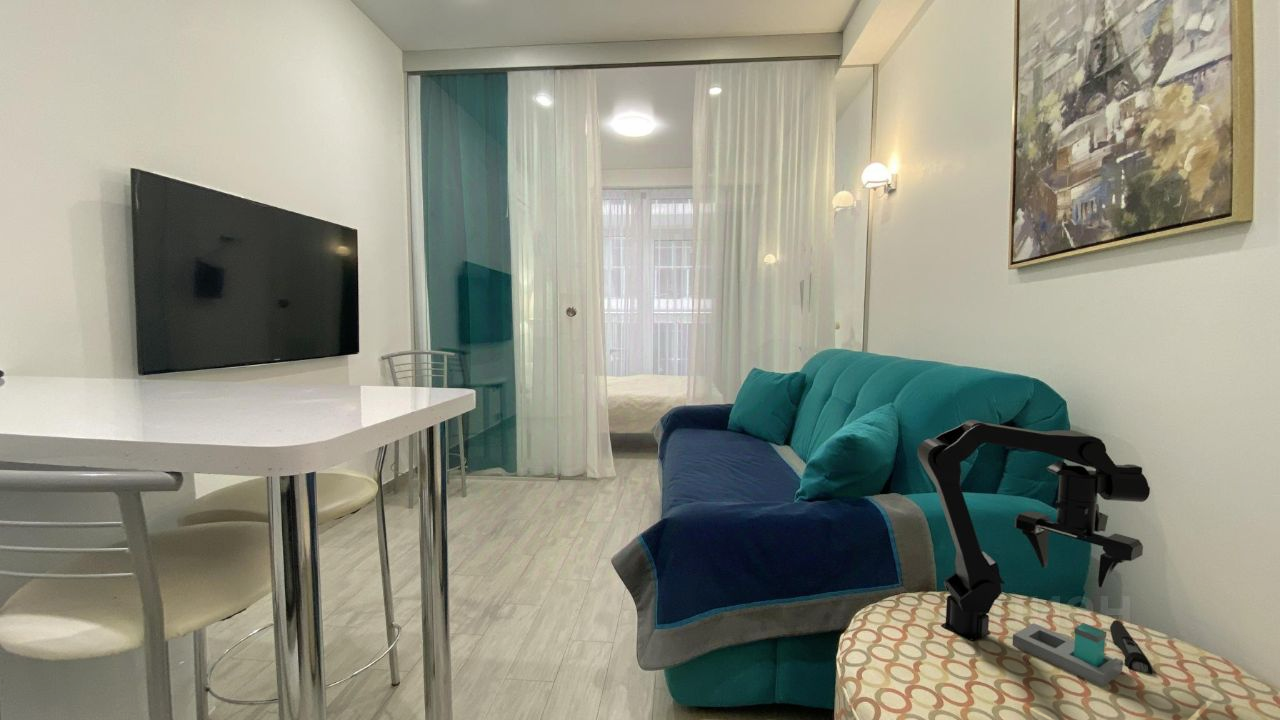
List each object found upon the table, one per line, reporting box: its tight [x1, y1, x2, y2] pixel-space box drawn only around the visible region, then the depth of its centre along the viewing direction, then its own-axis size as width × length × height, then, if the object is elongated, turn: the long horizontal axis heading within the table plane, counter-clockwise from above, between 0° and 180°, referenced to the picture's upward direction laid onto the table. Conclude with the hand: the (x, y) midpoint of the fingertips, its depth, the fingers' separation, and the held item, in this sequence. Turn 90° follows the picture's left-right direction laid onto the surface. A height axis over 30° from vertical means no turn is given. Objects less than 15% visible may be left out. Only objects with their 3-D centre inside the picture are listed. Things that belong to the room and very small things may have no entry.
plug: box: [1074, 622, 1107, 668], centre depth 98 cm, size 3×3×7 cm
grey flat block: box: [1011, 623, 1124, 687], centre depth 101 cm, size 14×8×3 cm, turn 31°
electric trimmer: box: [1109, 619, 1153, 675], centre depth 104 cm, size 4×16×3 cm, turn 151°
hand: (1071, 576), depth 106 cm, fingers open, 9 cm apart
